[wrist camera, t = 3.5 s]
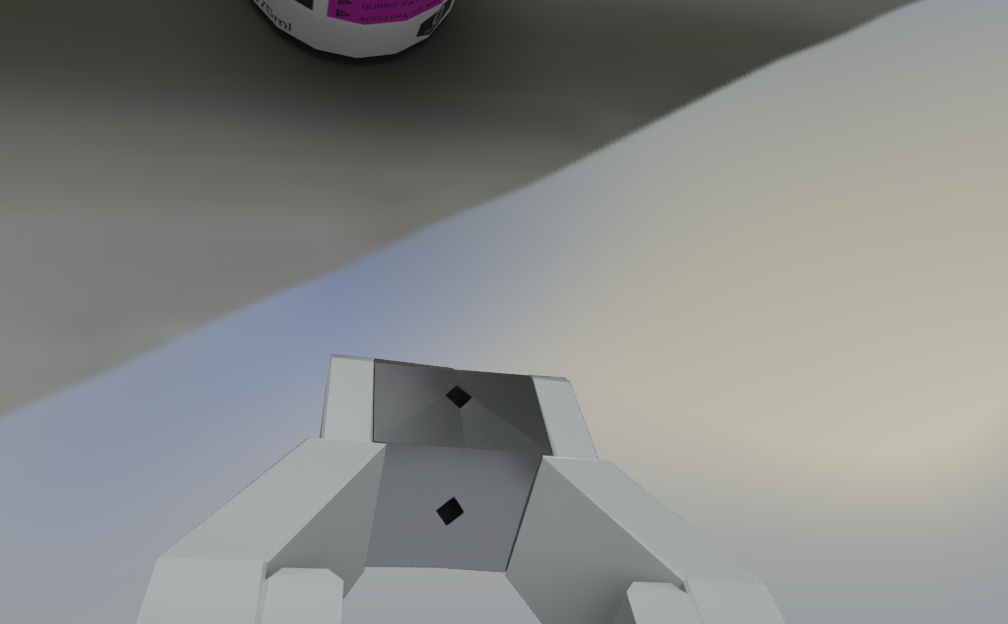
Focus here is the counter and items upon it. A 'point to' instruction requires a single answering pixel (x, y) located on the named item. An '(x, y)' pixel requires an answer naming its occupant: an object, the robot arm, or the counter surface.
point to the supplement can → (357, 23)
